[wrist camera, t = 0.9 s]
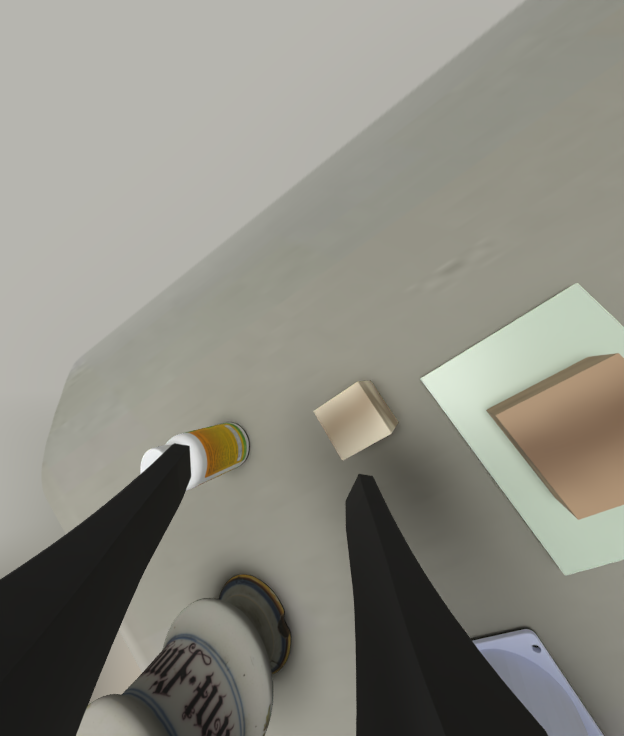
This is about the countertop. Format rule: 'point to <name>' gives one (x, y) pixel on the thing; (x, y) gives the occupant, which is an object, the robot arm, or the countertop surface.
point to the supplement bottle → (207, 451)
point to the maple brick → (356, 418)
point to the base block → (573, 433)
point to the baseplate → (512, 375)
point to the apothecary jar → (205, 671)
